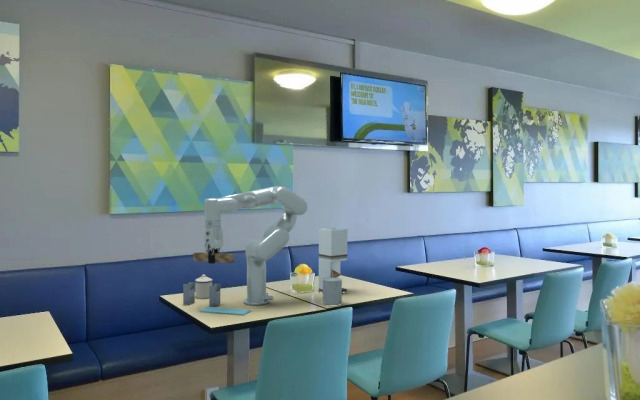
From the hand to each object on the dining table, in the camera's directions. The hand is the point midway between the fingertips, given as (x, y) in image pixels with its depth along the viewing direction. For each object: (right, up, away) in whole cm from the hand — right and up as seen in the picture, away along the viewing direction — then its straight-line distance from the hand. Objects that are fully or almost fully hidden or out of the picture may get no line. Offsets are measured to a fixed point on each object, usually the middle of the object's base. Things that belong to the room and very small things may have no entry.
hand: (213, 262), depth 240 cm
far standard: (-14, -21, +9) cm, 27 cm away
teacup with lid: (-11, -21, +25) cm, 35 cm away
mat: (+7, -22, -6) cm, 24 cm away
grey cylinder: (+57, -22, +10) cm, 62 cm away
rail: (0, 0, 0) cm, 0 cm away
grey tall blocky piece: (+58, -21, +37) cm, 72 cm away
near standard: (-1, -22, +5) cm, 22 cm away
